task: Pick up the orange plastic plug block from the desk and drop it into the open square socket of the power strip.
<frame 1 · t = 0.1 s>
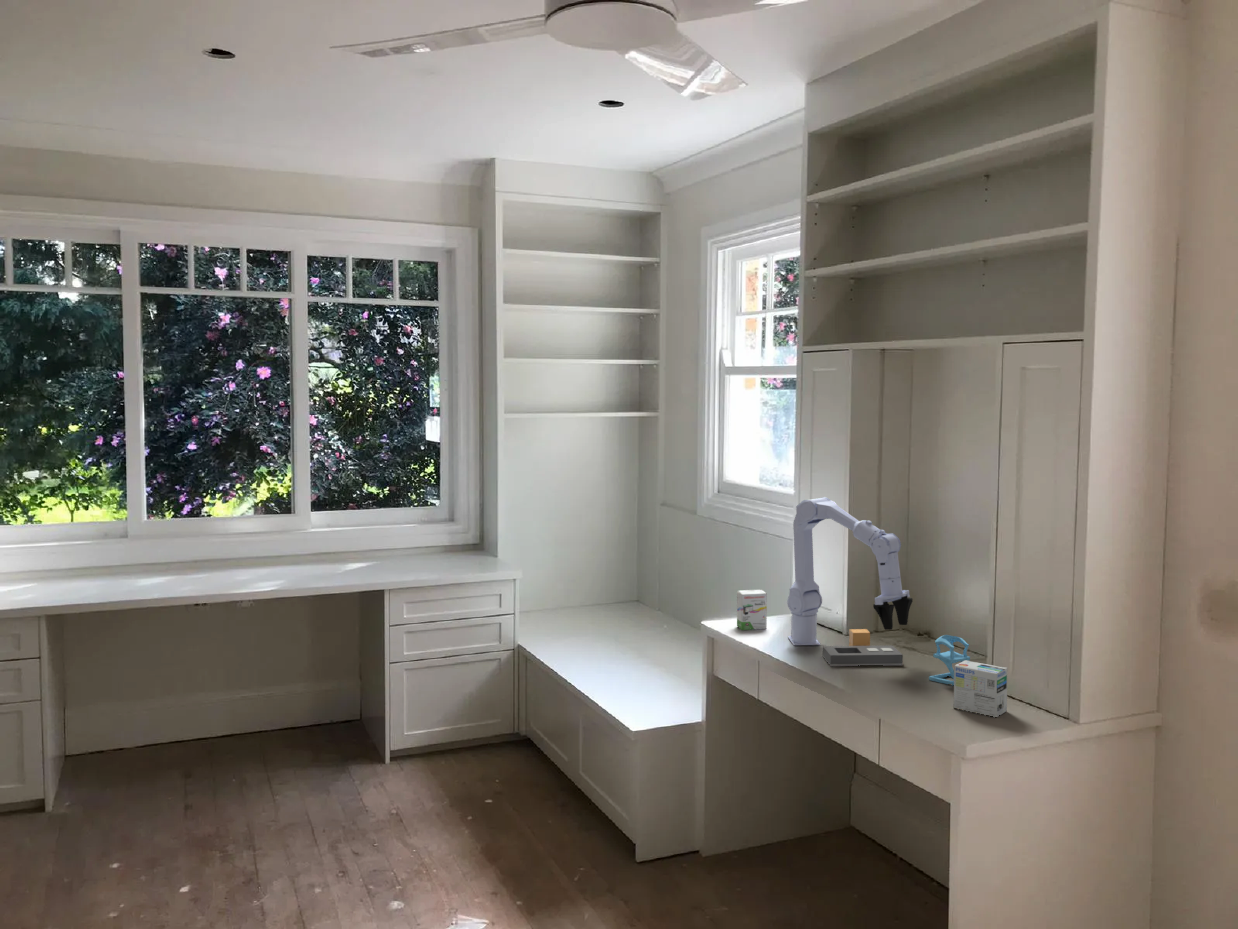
hand: (895, 627, 273), 10 cm above the table, tool pointing down, fingers open, 7 cm apart
ink box: (751, 628, 315), on the table
plug block: (859, 651, 288), on the table
power strip: (861, 660, 277), on the table
chair: (950, 682, 258), on the table
light bulb box: (979, 711, 236), on the table
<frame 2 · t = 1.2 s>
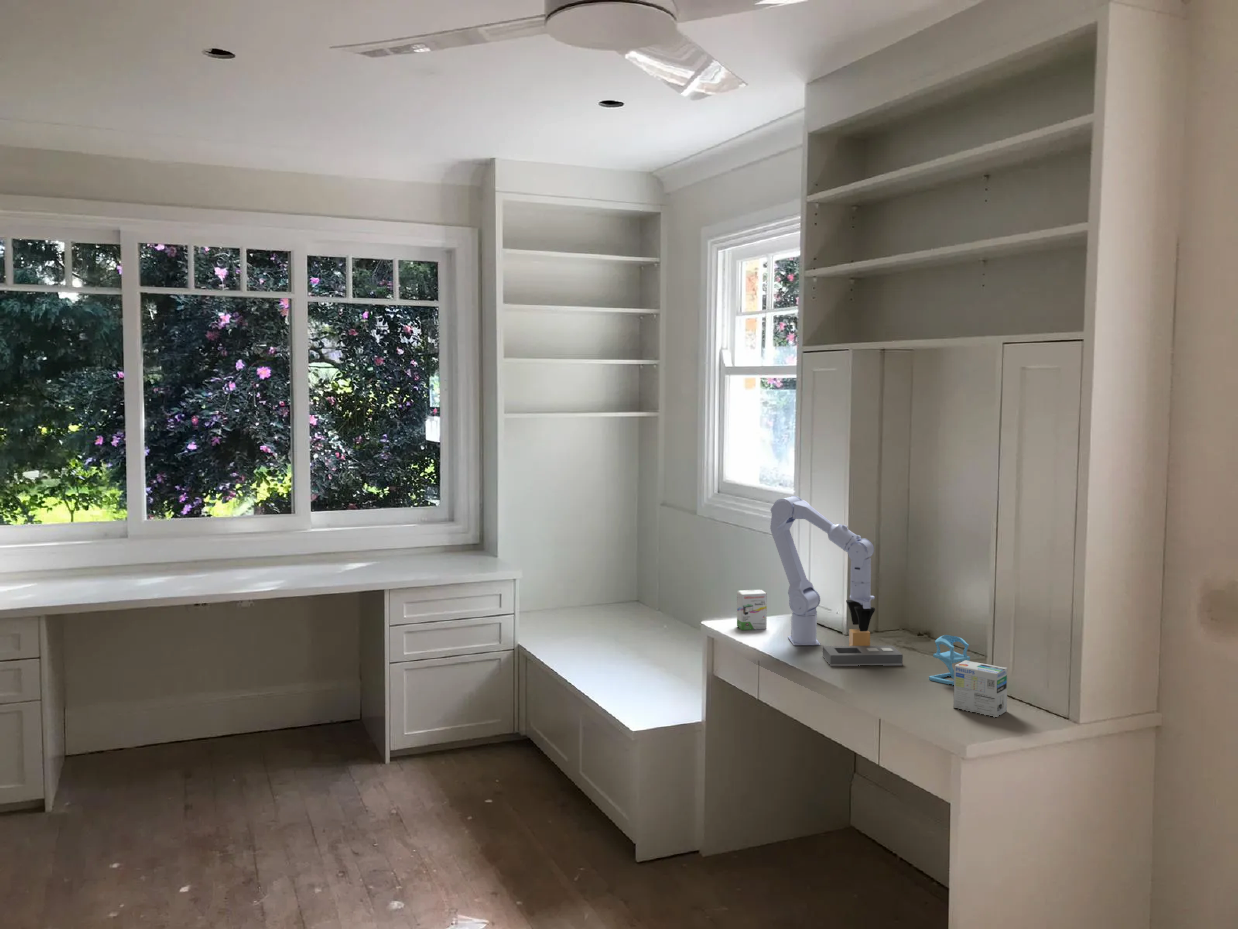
hand: (860, 627, 287), 7 cm above the table, tool pointing down, fingers open, 7 cm apart
nothing on the table moved.
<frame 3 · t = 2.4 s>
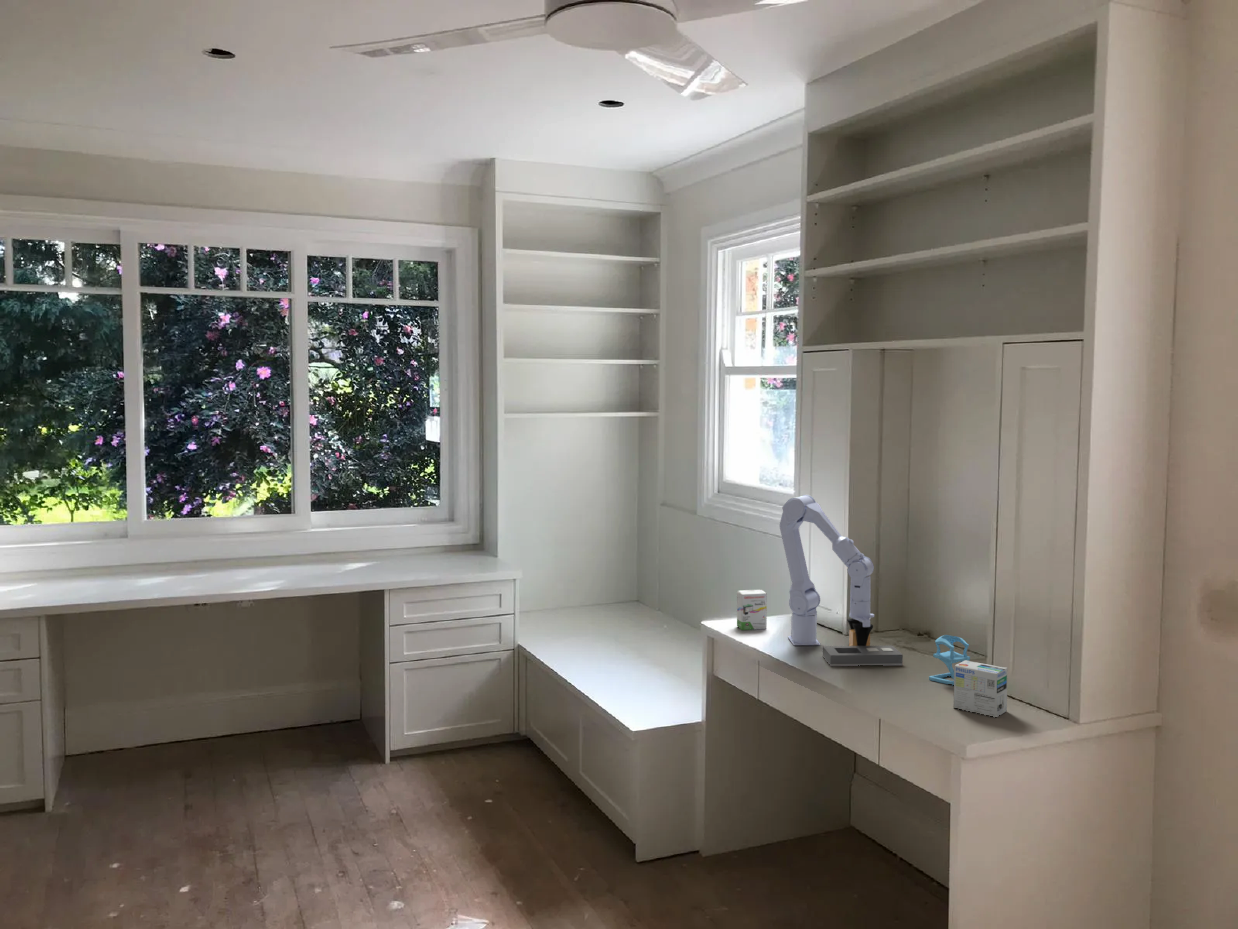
hand: (859, 645, 287), 2 cm above the table, tool pointing down, fingers closed on plug block, 4 cm apart
plug block: (859, 651, 287), on the table, touching gripper
everything else where it was.
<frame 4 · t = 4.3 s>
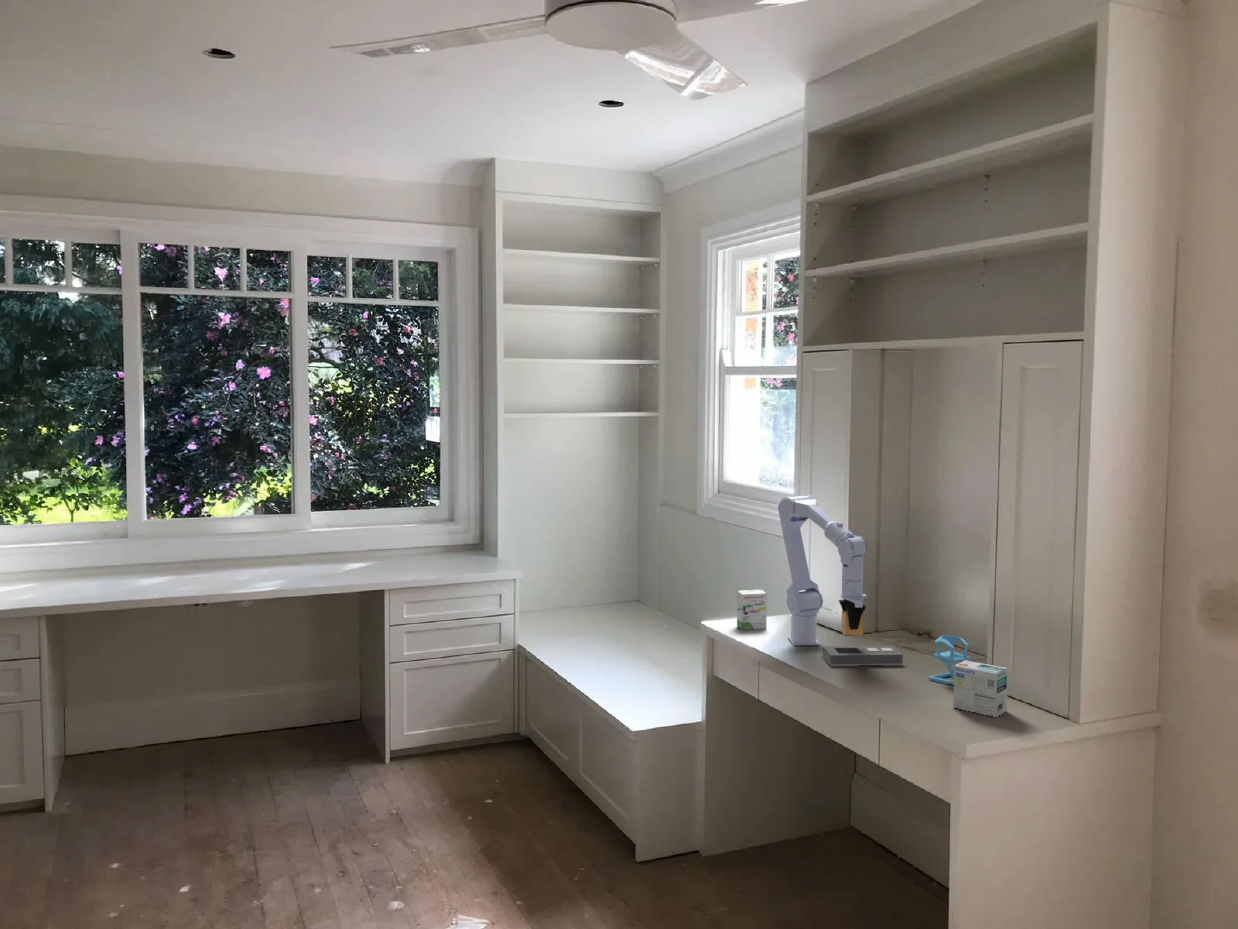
hand: (851, 627, 279), 9 cm above the table, tool pointing down, fingers closed on plug block, 4 cm apart
plug block: (852, 633, 280), point 7 cm above the table, touching gripper
everything else where it was.
when the fingers open (3 cm above the table, at t = 6.1 s): plug block drops 1 cm, resting on power strip.
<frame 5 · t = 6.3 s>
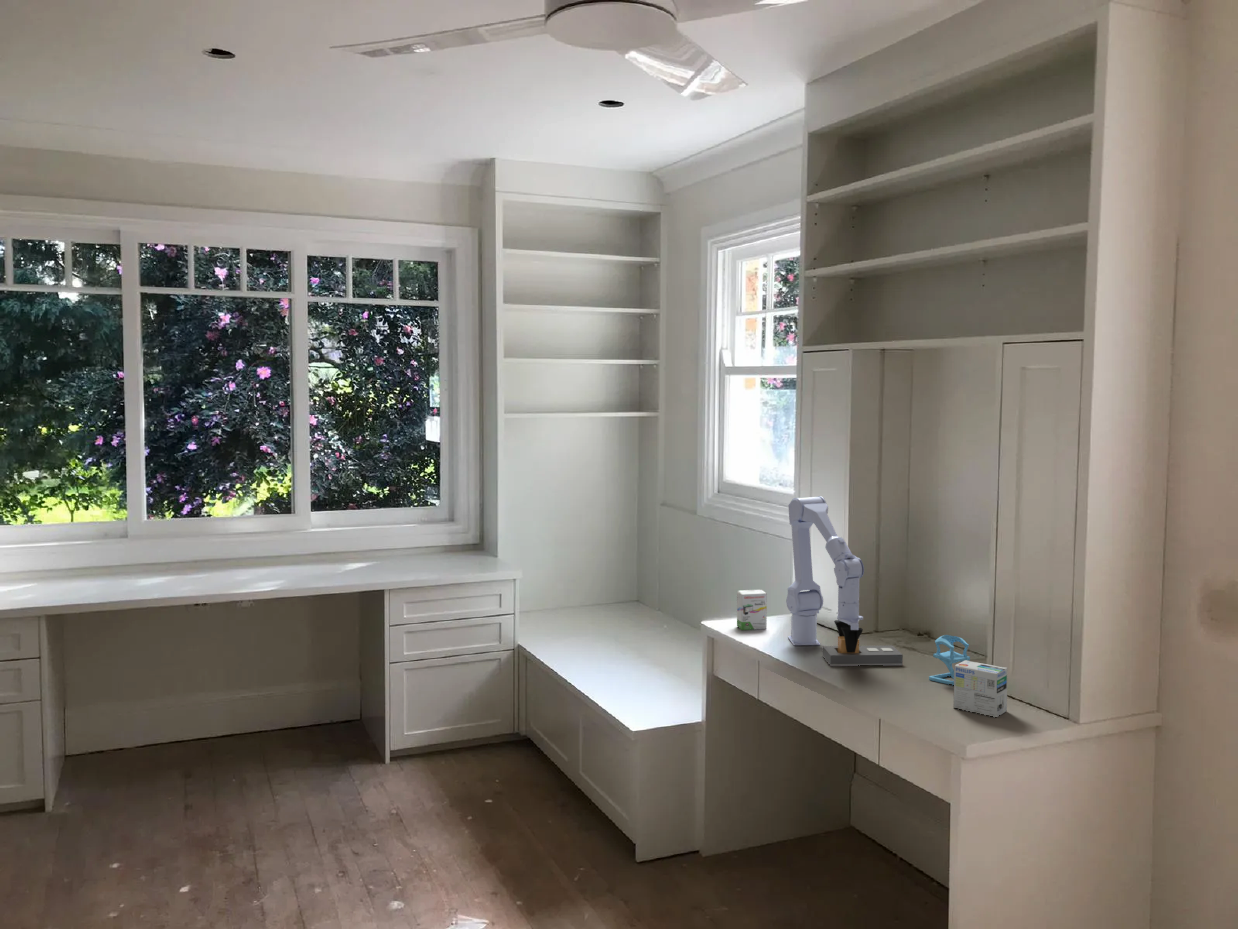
hand: (847, 649, 277), 3 cm above the table, tool pointing down, fingers open, 6 cm apart
plug block: (848, 659, 277), resting on power strip
everything else where it was.
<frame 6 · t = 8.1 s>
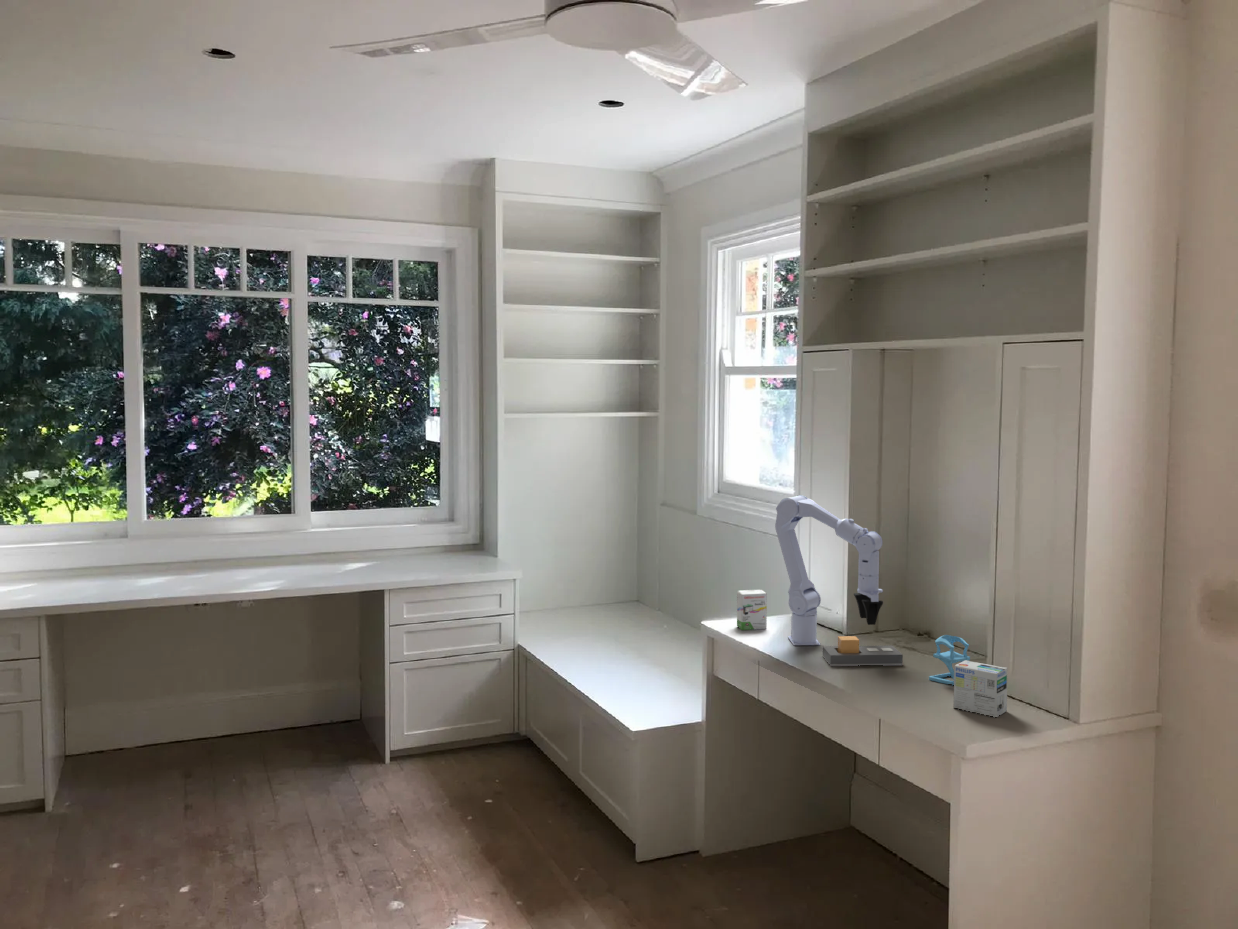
hand: (867, 621, 284), 9 cm above the table, tool pointing down, fingers open, 7 cm apart
nothing on the table moved.
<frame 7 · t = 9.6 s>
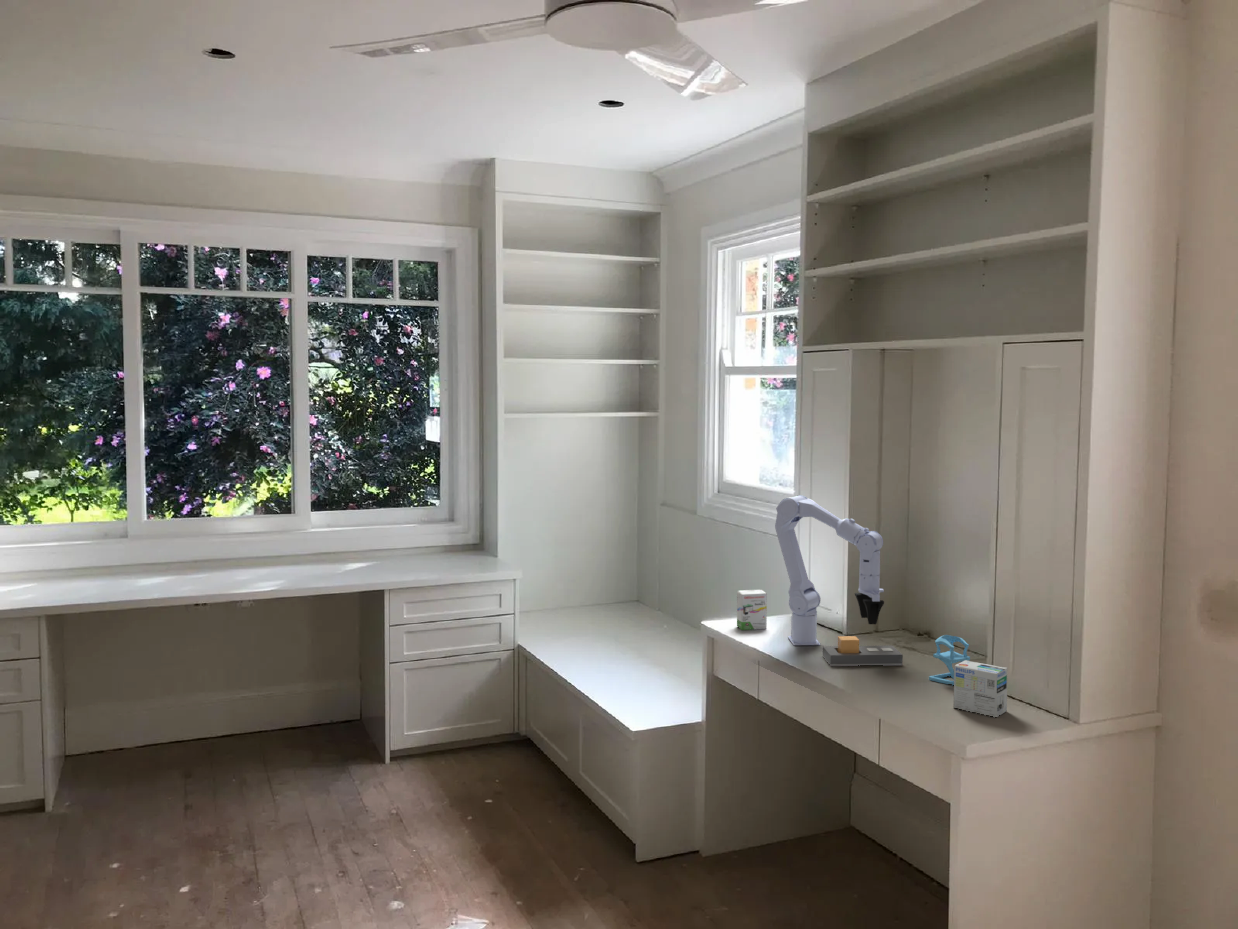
hand: (868, 620, 285), 9 cm above the table, tool pointing down, fingers open, 7 cm apart
nothing on the table moved.
at the end: plug block 0.1 cm from the target spot on the power strip, point 0.5 cm above the power strip's base; plug block tilted 0°; the gripper is holding nothing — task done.
